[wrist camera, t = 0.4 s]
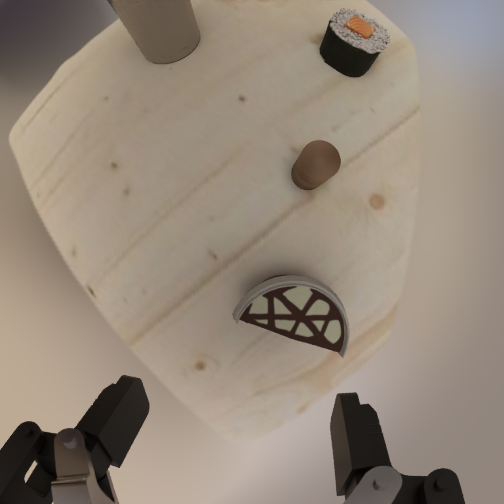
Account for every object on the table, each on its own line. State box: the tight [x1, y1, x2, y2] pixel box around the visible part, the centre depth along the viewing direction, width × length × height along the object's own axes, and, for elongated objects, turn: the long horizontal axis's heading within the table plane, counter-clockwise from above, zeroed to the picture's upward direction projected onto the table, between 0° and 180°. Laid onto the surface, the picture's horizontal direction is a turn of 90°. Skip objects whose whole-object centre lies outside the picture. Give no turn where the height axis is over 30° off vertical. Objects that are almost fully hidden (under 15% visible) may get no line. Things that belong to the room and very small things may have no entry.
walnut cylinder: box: [291, 140, 341, 190], centre depth 30 cm, size 4×4×8 cm
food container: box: [232, 275, 349, 358], centre depth 30 cm, size 12×6×10 cm, turn 69°
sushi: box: [320, 8, 390, 77], centre depth 28 cm, size 8×8×8 cm
